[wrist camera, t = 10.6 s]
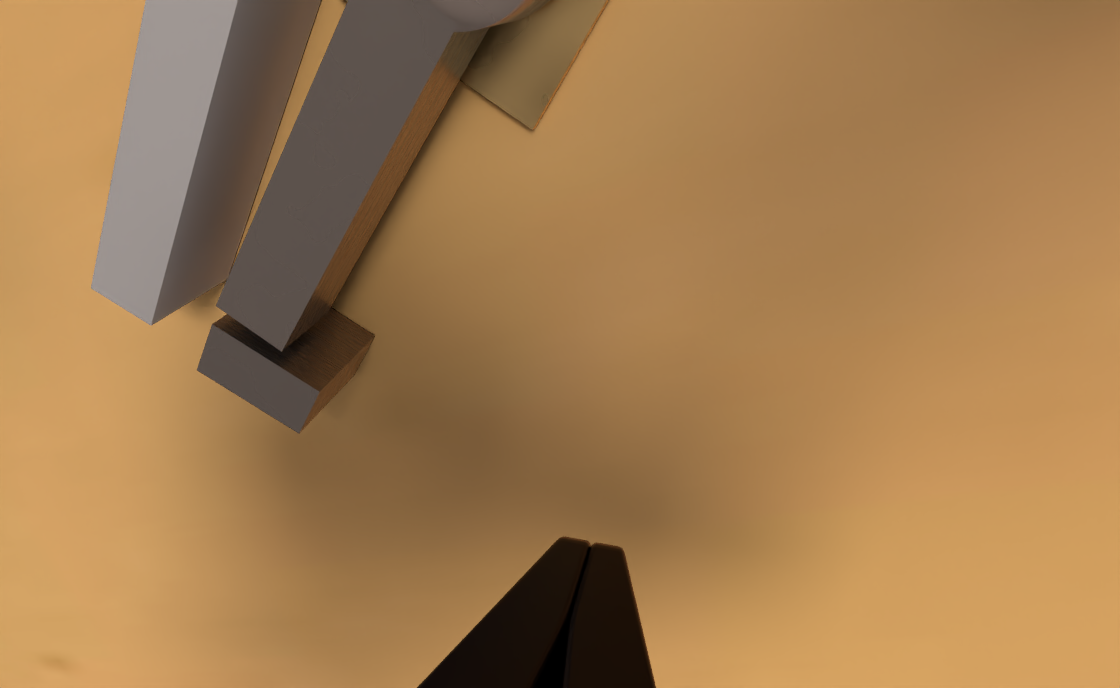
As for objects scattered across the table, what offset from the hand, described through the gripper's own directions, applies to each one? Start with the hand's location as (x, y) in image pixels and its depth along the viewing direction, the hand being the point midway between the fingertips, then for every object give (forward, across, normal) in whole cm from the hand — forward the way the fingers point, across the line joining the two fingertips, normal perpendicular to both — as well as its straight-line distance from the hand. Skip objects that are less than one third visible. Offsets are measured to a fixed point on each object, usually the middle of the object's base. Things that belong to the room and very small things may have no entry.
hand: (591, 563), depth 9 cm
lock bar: (+11, +8, -3) cm, 14 cm away
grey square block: (+12, +12, +4) cm, 17 cm away
